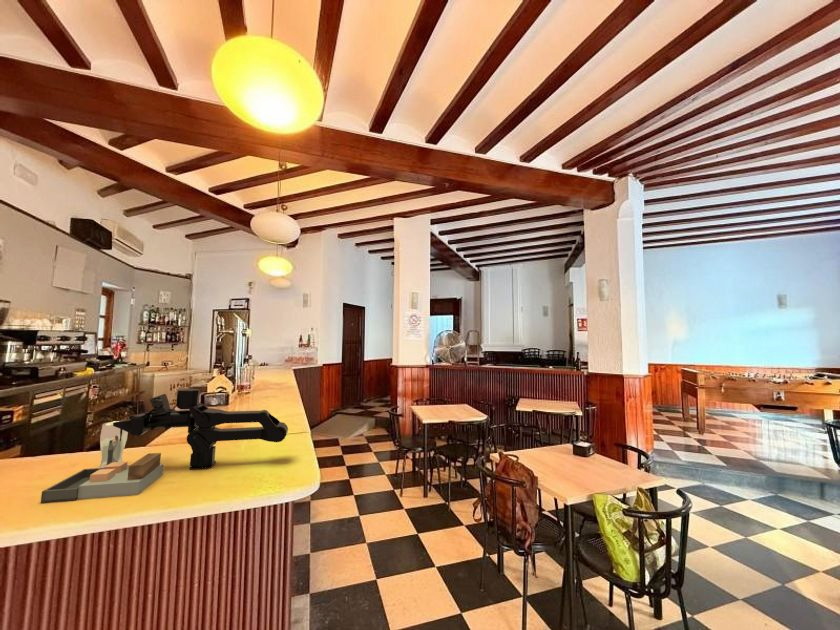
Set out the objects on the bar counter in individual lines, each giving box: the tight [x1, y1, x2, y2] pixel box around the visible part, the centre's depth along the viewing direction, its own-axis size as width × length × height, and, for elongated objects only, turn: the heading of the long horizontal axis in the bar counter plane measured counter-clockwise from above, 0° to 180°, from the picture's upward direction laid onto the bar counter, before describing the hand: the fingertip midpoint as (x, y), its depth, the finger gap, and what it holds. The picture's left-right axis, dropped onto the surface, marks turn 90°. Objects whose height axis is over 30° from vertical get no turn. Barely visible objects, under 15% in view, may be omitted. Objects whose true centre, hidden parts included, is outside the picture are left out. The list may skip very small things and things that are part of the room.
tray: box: [40, 467, 104, 504], centre depth 98 cm, size 8×16×3 cm, turn 16°
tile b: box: [90, 469, 116, 482], centre depth 97 cm, size 4×4×2 cm
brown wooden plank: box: [127, 452, 162, 480], centre depth 102 cm, size 4×11×4 cm, turn 16°
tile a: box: [104, 461, 128, 473], centre depth 103 cm, size 4×4×2 cm
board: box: [77, 462, 164, 500], centre depth 100 cm, size 14×15×4 cm
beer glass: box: [98, 420, 129, 468], centre depth 114 cm, size 7×7×15 cm
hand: (121, 420), depth 112 cm, fingers open, 9 cm apart
